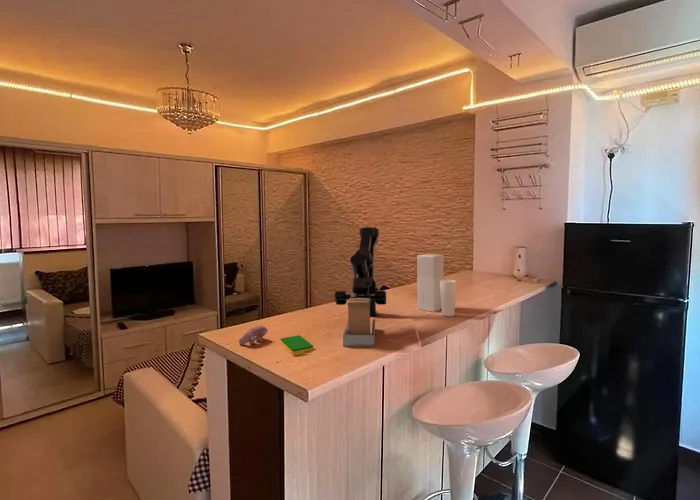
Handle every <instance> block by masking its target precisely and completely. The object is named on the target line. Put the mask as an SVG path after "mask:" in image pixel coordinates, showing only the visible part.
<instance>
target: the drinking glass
mask: <svg viewBox="0 0 700 500" xmlns="http://www.w3.org/2000/svg"><path fill="white" fill-rule="evenodd" d="M440 295H441V306H442V309H441V315H442V316H443V317H449V318H450V317H454V316H455V315H456V314H455V312H456V309H455V308H456V300H457V280H454V279H444V280H441V281H440Z"/></svg>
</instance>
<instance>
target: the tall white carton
mask: <svg viewBox="0 0 700 500" xmlns="http://www.w3.org/2000/svg"><path fill="white" fill-rule="evenodd" d="M416 257H417V258H416V259H417V261H416V262H417V263H416V265H417V268H416V269H417V272H416V273H417V275H416V276H417V277H416V279H417V282H416V283H417V284H416V285H417V287H416V288H417V294H416V295H417V310H418V311H420V310H421V311H426V312H431V311H432V313H435V312H438V311H440V309H441V310H442V306H441V295H440V281H441V280H445V278H444V277H445V276H444V272H445V271H444V270H445V269H444V265H445V263H444V260H445V259H444V254H435V253H434V254H433V253H425V254H424V253H423V254H419V255H416Z"/></svg>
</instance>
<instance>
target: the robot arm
mask: <svg viewBox="0 0 700 500" xmlns="http://www.w3.org/2000/svg"><path fill="white" fill-rule="evenodd" d="M379 237H380V229H379V228H377V226H373V227H371V226H369V227H368V226H367V227H361V228H359V238H360V243H359V247H358V249H357V250H356V251H355V253H354V254H353V255H352V256H351V257H350V259H349V261H350V264H351V269H352V273H353V278H352V290H351V291H352V292H351V293H350V294H347V291H346V290H336V291H334V301H335V305H337V306H340V305H341V306H342V305H343V306H344V305H346V304H348V301H349V299H350V298H370V317H375V316H377V314H378V312H377V307H376V305H377V306H378V305H386V304H387V291H386V290H379V287H378V285H377V282H376V281H375V278H374V274H375V272H374V271H375V269H374V268H375V247H376V245H377V244H378V241H379Z"/></svg>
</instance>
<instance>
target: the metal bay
mask: <svg viewBox="0 0 700 500" xmlns="http://www.w3.org/2000/svg"><path fill="white" fill-rule="evenodd" d="M371 326H372V328H371V334H370V335H369V334H349V324H348V321H347V322H346V324H345V328H344V331H343V334H342V347H345V348H346V347H348V348H349V347H350V348H351V347H353V348H354V347H359V348H361V347H362V348H363V347H367V348H370V347H371V348H374V347H375V339H376V318H373V319H372V325H371Z"/></svg>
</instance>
